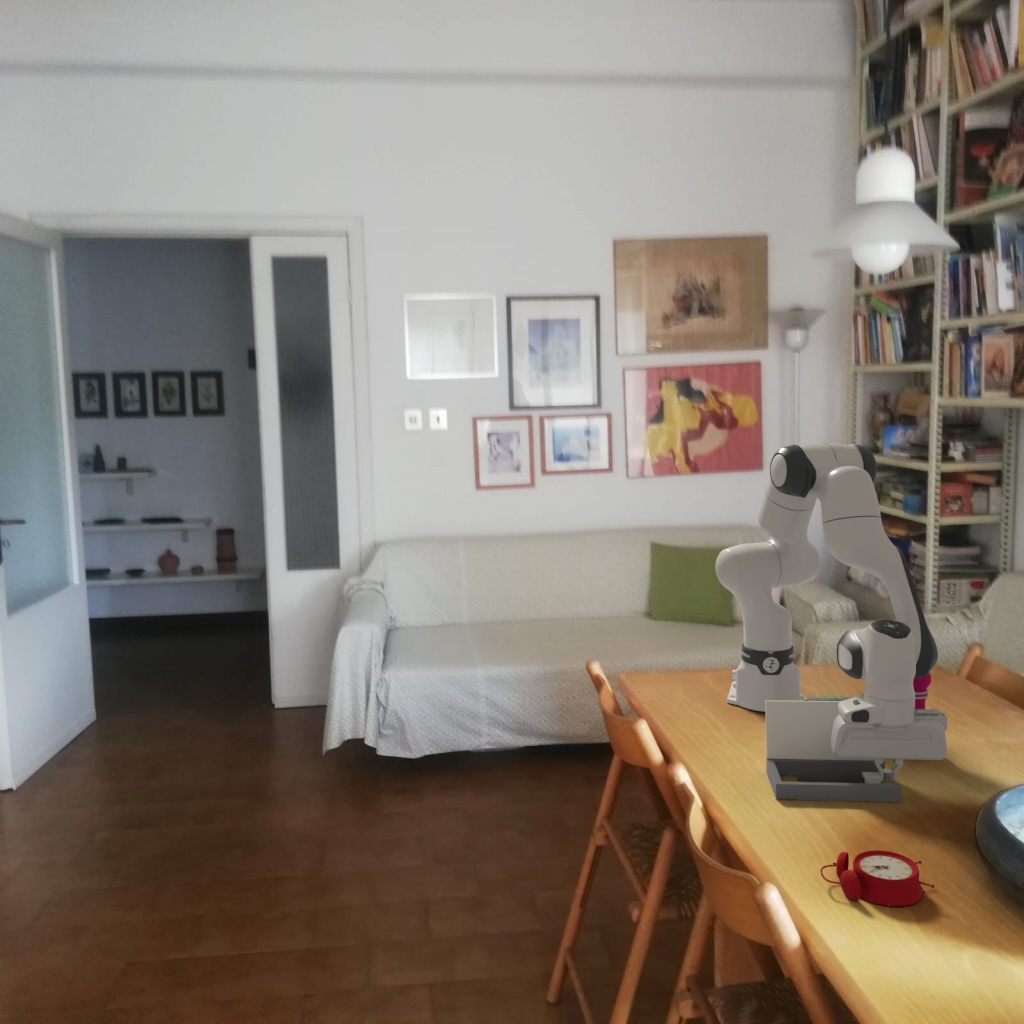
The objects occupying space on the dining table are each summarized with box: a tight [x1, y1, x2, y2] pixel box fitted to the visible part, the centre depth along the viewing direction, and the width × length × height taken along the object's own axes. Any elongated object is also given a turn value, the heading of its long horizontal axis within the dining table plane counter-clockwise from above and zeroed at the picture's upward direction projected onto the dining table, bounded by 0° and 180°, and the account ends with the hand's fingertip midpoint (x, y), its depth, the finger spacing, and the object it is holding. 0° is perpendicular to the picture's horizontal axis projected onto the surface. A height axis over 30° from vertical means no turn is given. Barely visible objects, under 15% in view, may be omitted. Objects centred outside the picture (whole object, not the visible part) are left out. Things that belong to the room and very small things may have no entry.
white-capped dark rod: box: [796, 772, 882, 784], centre depth 179 cm, size 15×3×3 cm, turn 83°
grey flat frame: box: [765, 758, 902, 803], centre depth 179 cm, size 12×22×3 cm, turn 83°
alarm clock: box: [820, 849, 935, 907], centre depth 143 cm, size 10×6×15 cm
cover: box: [764, 700, 885, 762], centre depth 185 cm, size 11×22×1 cm
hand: (887, 779), depth 178 cm, fingers closed
